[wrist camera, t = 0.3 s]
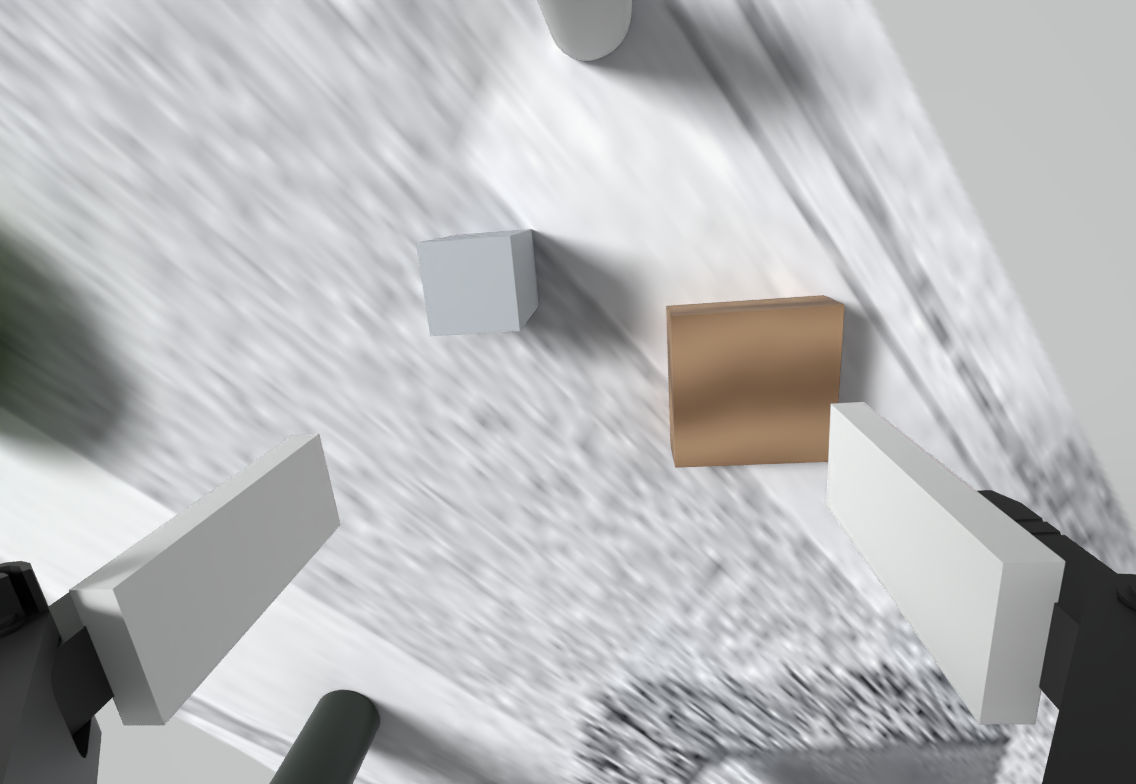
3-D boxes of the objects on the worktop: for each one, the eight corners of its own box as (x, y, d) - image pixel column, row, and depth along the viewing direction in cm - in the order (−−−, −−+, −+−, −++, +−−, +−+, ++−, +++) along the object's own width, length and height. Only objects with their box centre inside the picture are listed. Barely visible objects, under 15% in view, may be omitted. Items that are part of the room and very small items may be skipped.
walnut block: (665, 305, 39) (671, 316, 35) (821, 294, 38) (844, 304, 34) (670, 443, 42) (675, 467, 38) (814, 437, 41) (834, 461, 37)
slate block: (456, 234, 38) (416, 243, 30) (531, 229, 37) (509, 235, 30) (466, 310, 39) (430, 336, 32) (538, 306, 39) (519, 330, 31)
